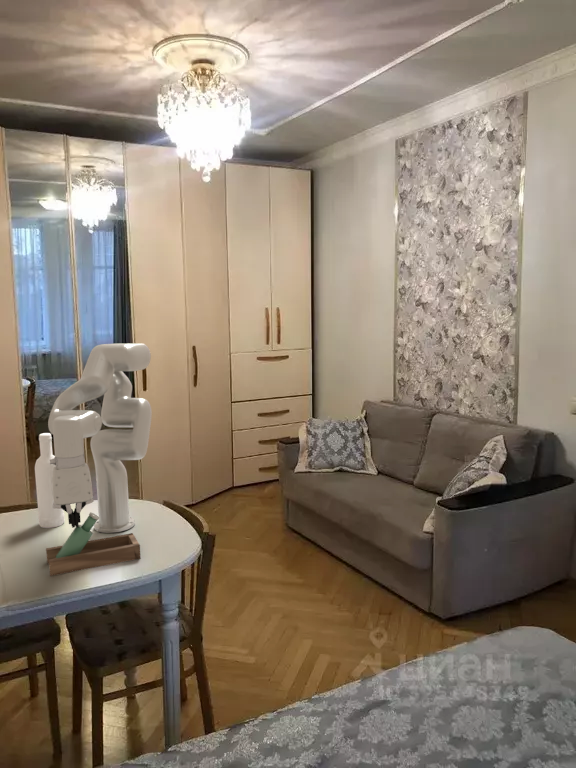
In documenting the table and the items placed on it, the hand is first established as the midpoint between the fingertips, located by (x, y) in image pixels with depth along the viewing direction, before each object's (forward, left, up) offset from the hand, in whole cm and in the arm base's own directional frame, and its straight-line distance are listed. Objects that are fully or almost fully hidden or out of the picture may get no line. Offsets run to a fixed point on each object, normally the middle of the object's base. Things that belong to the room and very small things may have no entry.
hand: (74, 525), depth 175 cm
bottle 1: (-36, -4, -11) cm, 38 cm away
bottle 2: (0, -4, -9) cm, 10 cm away
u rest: (0, +4, -11) cm, 12 cm away
